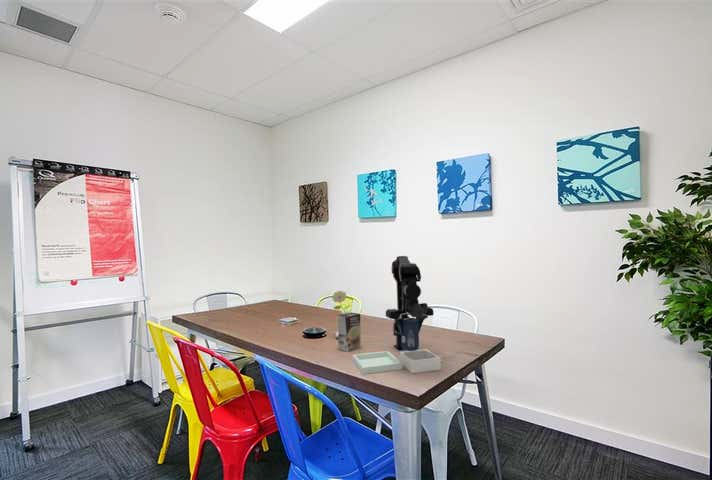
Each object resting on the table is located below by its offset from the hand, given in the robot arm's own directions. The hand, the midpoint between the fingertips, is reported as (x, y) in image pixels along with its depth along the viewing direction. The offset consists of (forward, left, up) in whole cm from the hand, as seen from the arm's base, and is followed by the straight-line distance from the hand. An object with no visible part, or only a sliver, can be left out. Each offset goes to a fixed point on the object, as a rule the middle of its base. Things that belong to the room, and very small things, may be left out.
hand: (410, 333), depth 137 cm
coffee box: (-30, -18, -13) cm, 38 cm away
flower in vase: (-49, -16, -13) cm, 54 cm away
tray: (-5, -13, -13) cm, 19 cm away
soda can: (0, 0, -6) cm, 6 cm away
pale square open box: (+2, +3, -13) cm, 13 cm away
